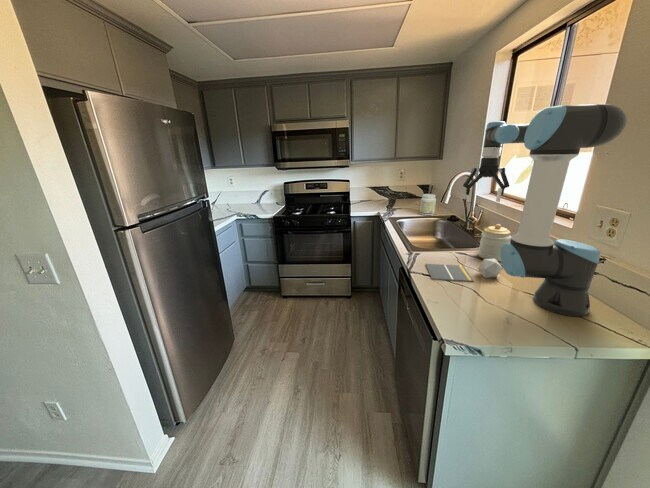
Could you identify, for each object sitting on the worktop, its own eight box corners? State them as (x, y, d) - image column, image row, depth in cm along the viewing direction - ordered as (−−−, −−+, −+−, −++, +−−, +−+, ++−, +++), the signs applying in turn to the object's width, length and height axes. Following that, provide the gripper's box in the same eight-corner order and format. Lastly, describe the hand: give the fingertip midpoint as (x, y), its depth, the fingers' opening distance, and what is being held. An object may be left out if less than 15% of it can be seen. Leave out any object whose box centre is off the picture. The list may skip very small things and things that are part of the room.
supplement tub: (424, 212, 237) (426, 193, 232) (437, 214, 229) (439, 194, 223) (416, 214, 230) (418, 194, 224) (429, 216, 221) (432, 196, 216)
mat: (474, 282, 113) (474, 280, 113) (431, 279, 116) (431, 278, 116) (463, 266, 128) (463, 265, 127) (425, 264, 131) (425, 263, 131)
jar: (512, 261, 132) (520, 227, 126) (486, 261, 132) (492, 227, 126) (497, 252, 144) (503, 220, 138) (472, 252, 145) (478, 220, 139)
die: (492, 272, 122) (480, 255, 122) (510, 270, 114) (497, 252, 114) (482, 283, 119) (470, 265, 119) (500, 282, 111) (487, 262, 111)
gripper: (515, 156, 128) (507, 200, 135) (460, 157, 133) (454, 199, 140) (523, 156, 121) (513, 203, 128) (464, 158, 126) (458, 202, 133)
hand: (482, 201), depth 134 cm, fingers open, 13 cm apart
